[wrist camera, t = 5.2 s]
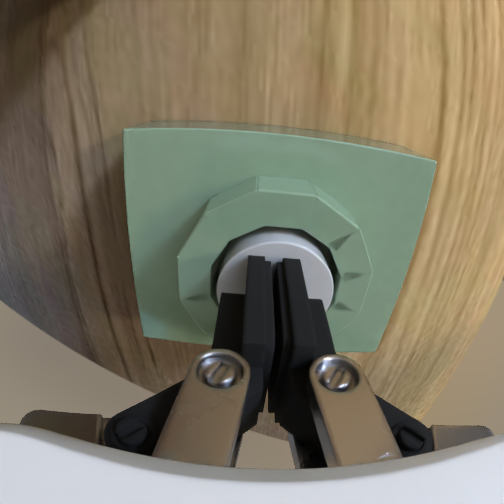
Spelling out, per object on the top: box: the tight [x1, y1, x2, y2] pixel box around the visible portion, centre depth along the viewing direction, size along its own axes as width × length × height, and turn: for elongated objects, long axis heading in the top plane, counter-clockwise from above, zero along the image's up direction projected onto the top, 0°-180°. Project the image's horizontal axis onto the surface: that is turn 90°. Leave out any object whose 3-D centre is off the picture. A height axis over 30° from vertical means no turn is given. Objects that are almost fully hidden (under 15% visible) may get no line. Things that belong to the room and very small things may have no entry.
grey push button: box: [216, 226, 334, 312], centre depth 11 cm, size 4×4×2 cm
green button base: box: [123, 121, 437, 352], centre depth 13 cm, size 12×10×5 cm
